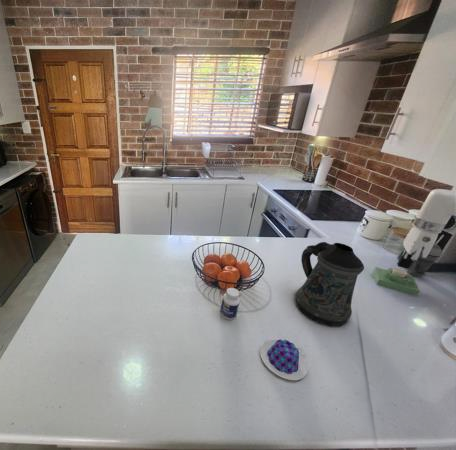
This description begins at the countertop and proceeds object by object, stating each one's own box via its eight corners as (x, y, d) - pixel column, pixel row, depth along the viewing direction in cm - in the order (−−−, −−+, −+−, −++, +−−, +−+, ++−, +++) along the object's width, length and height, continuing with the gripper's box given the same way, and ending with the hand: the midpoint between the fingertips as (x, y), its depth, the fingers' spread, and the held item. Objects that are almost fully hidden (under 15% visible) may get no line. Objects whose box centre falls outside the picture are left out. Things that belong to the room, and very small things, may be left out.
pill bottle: (218, 317, 82) (223, 294, 78) (221, 306, 86) (225, 284, 82) (235, 322, 80) (241, 299, 76) (236, 310, 85) (242, 288, 80)
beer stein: (343, 337, 77) (378, 272, 65) (278, 304, 88) (299, 244, 77) (351, 308, 88) (382, 248, 76) (292, 283, 99) (312, 227, 88)
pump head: (403, 274, 98) (406, 270, 97) (406, 279, 95) (408, 275, 94) (390, 270, 99) (393, 266, 99) (392, 275, 96) (395, 271, 95)
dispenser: (408, 284, 101) (415, 273, 98) (414, 299, 93) (423, 287, 90) (371, 274, 106) (377, 262, 103) (374, 287, 98) (381, 275, 96)
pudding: (313, 386, 63) (320, 373, 60) (264, 377, 64) (269, 364, 62) (297, 345, 73) (303, 333, 71) (255, 338, 75) (259, 326, 73)
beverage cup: (401, 267, 112) (424, 228, 103) (423, 273, 108) (449, 233, 99) (404, 275, 106) (428, 234, 97) (427, 282, 103) (455, 240, 94)
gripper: (451, 236, 80) (420, 280, 88) (435, 219, 91) (410, 260, 99) (420, 229, 83) (393, 273, 91) (408, 214, 94) (386, 254, 103)
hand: (402, 266), depth 95 cm, fingers closed
